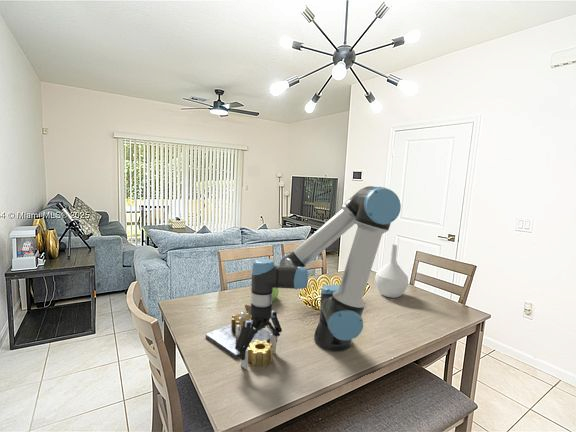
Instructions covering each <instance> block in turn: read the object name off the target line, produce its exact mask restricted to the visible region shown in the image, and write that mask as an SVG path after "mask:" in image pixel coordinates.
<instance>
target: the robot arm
mask: <svg viewBox="0 0 576 432" xmlns="http://www.w3.org/2000/svg"><path fill="white" fill-rule="evenodd" d="M341 207H342V208H341V209H340V210H339V211H338V212H337V213H336V214H334V216H332V217H331V218H330V219H329V220H328V221H326V222H325V223H324V224H323V225H322V226H320V227H319V228H318V229H317V230H316V231H315V232H313V234H311V235H310V236H309V237H308V238H307V239H305V240H304V241H303V242H301V244H300V245H298V246H297V247H296V248H295V249H294V250H293V251H292V252H290V253H289V254H285V255H283V256H282V257H281V259H280V262H279V266H278V265H275V262H274V260H273V259H270V258H257V259H255V260H254V261H253V262H252V269H251V287H250V288H251V290H250V291H251V292H250V293H251V294H250V302H251V303H250V305H251V310H250V313H251V316H252V317H251V320H250V321H247V320H245V321H244V323H243V328H242V331H241V333H240V336H239V338H238V341H237V343H236V346H235V349H236V350H238V351H239V352H240V357H239V359H240V367H242V368H243V369H245V370H247V369H248V366H249V365H248V364H249V363H248V350H247V348H248V346H249V344H250V342H251V341H252V339H253V337H254V335H255V334H256V333H257V332H258V330H261V329H262V328H263V329H265V328H267V329H268V330H269V332H270V333H272V334H270V342H269V344H270V343H272V345H273V351H272V354H276V353H277V343H278V337H280V335H281V333H282V331H283V329H282V327H281V324H280V322H279V318H278V313H277V311H275V310H273V304H272V303H273V301H272V296H273V288H278V289H291V290H292V289H293V290H294V289H295V290H300V289H307V287H308V282H309V272H308V271H309V270H308V268H307V267H306V266H307V265H308V264H310V262H312V261H313V260H314V259H315V258H317V257H318V256H319V255H320V254H321V253H323V252H324V251H325V250H326V249H327V248H329V246H331V245H332V244H333V243H334V242H336V240H338V239H339V238H340V237H341V236H342V235H344V234H345V233H346V232H348V230H350V229H351V228H352V227H353V226H355V225H357V228H356V231H355V235H354V238H353V241H352V244H351V247H350V251H349V255H348V258H347V261H346V264H345V267H344V271H343V275H342V277H341V281H340V284H339V285H338V284H327V285H324V286H322V287H321V291H320V304H319V305H320V309H319V321H318V324H317V326H316V328H315V331H314V335H313V337H314V338H313V341H314V343H315V345H317V346H318V347H320V348H322V349H324V350H327V351H329V352H330V351H332V352H342V351H346V350H348V349H349V348H351V346H352V341H353V339H356V338H357V337H359V335H361V333H362V332H363V329H364V320H363V318H362V316H363V311H364V309H365V306H366V303H365V302H364V299H363V297H364V293H365V290H366V287H367V284H368V281H369V278H370V274H371V272H372V268H373V265H374V261H375V259H376V256H377V252H378V248H379V246H380V243H381V240H382V237H383V234H386V233H387V232H389V230H390V227H391V223H392V222H394V221H396V219H397V218H398V217H399V215H400V213H401V208H402V204H401V201H400V199H399V196H398V195H397V194H396V192H395V191H393V190H391V189H390V188H387V187H383V186H372V185H371V186H370V185H369V186H365V187H363V188H360V189H359V190H358V191H357V192H355V193H354V194H353V195H352V196H351V197H350V198H349V199H348V200H347V201H345V203H343V204H342V206H341ZM270 320H271V322H270ZM253 327H254V328H255V330H254V329H253Z"/></svg>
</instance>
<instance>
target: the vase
mask: <svg viewBox="0 0 576 432" xmlns="http://www.w3.org/2000/svg"><path fill="white" fill-rule="evenodd" d="M397 251H398V245H397V244H392V245H391V252H390V260H389V262H387V263H386V264H385V265H383V267H381V268H380V269H379V270H378V271H377V272H376V274H375V279H374V281H375V285H376V288H377V290H378V292H379V293H380V294H381V295H382V296H384V297H387V298H390V299H392V298H393V299H396V298H399V297H401V296H402V295H403V294H404V293H405V292H406V290H407V288H408V286H409V276H408V275H407V274H406V273H405V271H404V270H403V269H402V268H401V266H400V265H399V264H398V262H397V254H398V253H397Z"/></svg>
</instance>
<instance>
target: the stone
mask: <svg viewBox="0 0 576 432" xmlns="http://www.w3.org/2000/svg"><path fill="white" fill-rule="evenodd" d="M244 309H245V312H246V313H249V315H251V313H250V310H251V304H248V303H247V304H246V303H245V305H244Z"/></svg>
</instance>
